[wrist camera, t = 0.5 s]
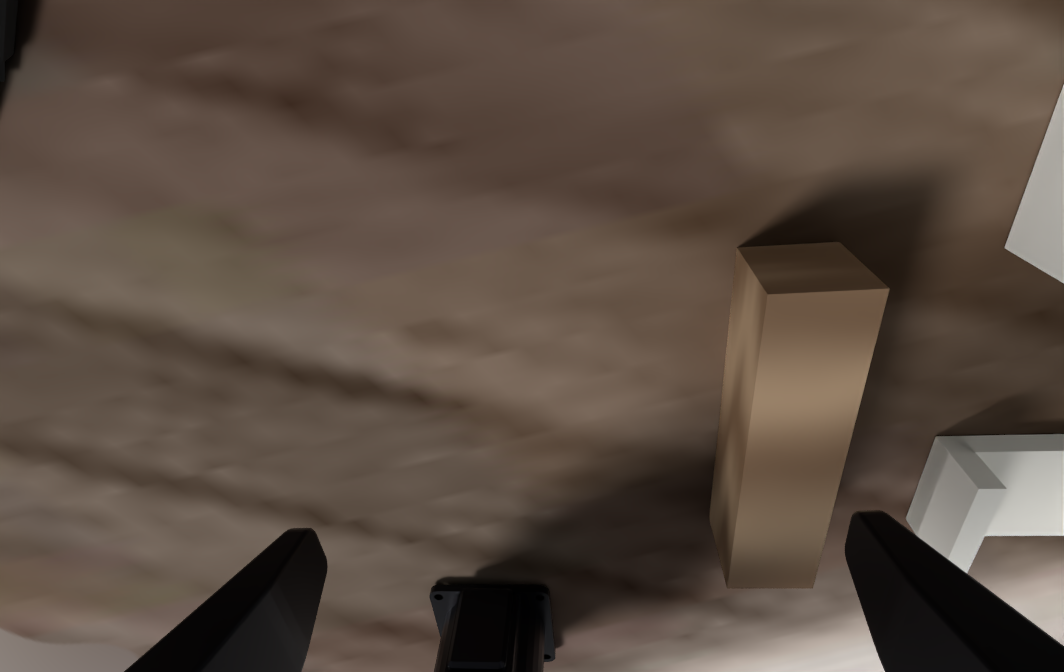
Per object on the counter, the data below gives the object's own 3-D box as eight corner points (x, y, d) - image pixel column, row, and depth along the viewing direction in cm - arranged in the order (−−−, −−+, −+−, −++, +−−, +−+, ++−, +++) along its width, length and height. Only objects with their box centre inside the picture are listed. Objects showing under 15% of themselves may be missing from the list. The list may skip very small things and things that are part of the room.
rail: (782, 514, 27) (812, 588, 24) (708, 515, 28) (727, 588, 24) (836, 239, 20) (889, 288, 17) (735, 244, 21) (767, 294, 17)
